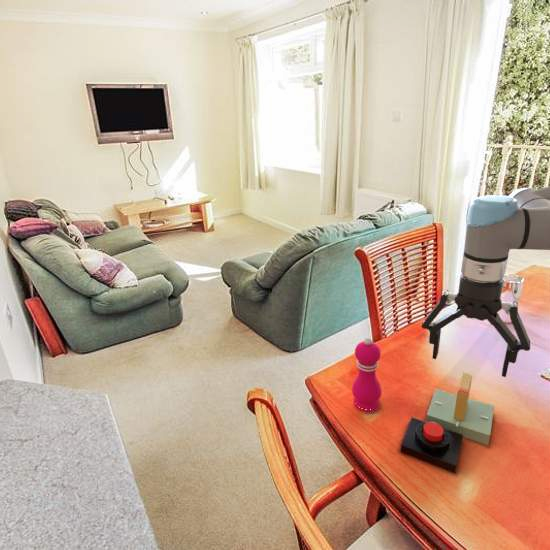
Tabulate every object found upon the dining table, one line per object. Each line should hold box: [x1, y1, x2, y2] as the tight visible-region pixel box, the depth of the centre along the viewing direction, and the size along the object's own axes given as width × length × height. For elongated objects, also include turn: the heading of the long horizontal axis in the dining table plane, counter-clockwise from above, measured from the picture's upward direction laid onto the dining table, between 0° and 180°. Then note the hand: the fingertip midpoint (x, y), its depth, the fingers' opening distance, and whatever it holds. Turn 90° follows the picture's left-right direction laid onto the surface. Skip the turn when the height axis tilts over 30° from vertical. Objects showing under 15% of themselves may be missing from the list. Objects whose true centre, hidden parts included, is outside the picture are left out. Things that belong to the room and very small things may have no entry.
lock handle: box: [454, 372, 473, 421], centre depth 86 cm, size 7×2×8 cm, turn 147°
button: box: [423, 422, 444, 442], centre depth 81 cm, size 4×4×2 cm
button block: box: [400, 417, 464, 474], centre depth 82 cm, size 11×9×4 cm
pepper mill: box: [351, 336, 382, 413], centre depth 92 cm, size 7×7×20 cm
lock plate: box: [425, 388, 495, 446], centre depth 88 cm, size 13×11×3 cm
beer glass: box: [497, 273, 525, 324], centre depth 123 cm, size 7×7×15 cm
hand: (468, 364), depth 82 cm, fingers open, 13 cm apart
